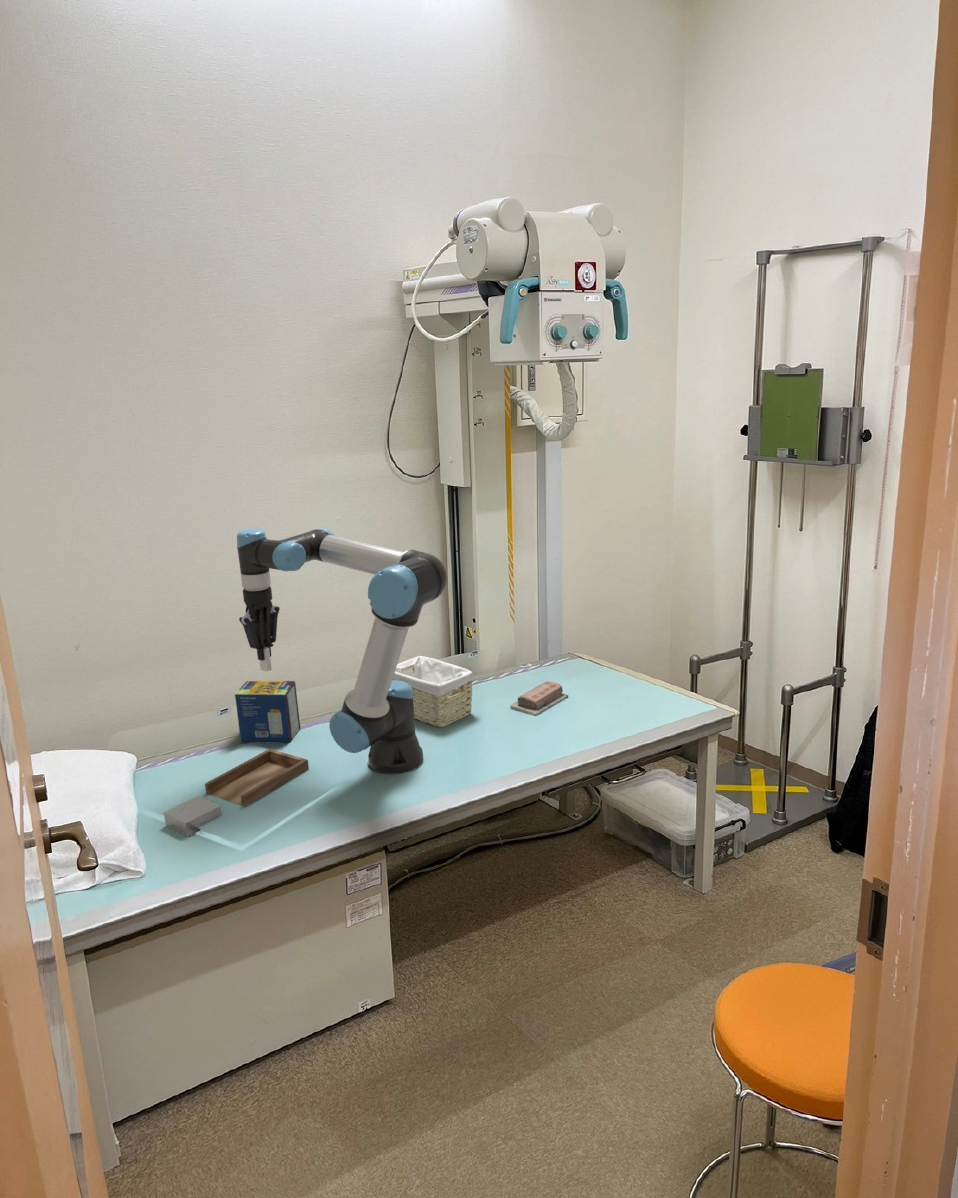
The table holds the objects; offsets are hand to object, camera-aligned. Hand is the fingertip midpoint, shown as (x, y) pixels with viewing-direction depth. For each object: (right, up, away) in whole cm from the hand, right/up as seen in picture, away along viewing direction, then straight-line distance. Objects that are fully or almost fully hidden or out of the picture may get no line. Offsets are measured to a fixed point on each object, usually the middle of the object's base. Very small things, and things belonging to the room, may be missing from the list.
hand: (266, 669), depth 252 cm
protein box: (-4, -22, +22) cm, 31 cm away
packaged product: (+78, -14, +38) cm, 87 cm away
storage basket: (+44, -16, +33) cm, 57 cm away
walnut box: (0, -30, -9) cm, 31 cm away
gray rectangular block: (-12, -36, -26) cm, 46 cm away
